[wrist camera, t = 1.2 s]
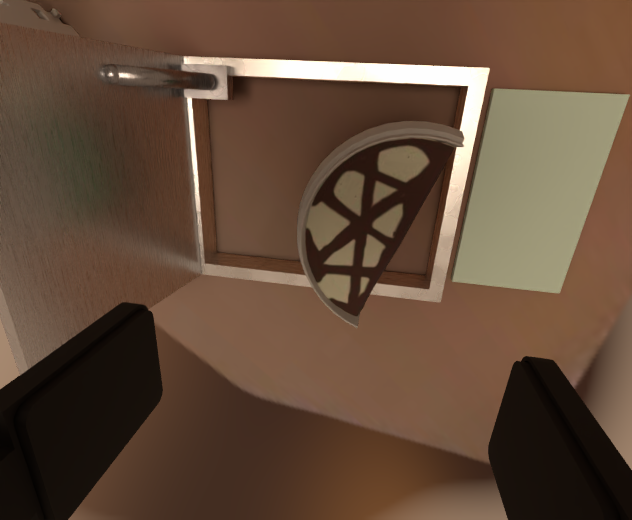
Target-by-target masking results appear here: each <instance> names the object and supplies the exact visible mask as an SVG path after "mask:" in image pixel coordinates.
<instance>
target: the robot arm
mask: <svg viewBox="0 0 632 520" xmlns="http://www.w3.org/2000/svg"><path fill="white" fill-rule="evenodd" d="M162 391H163V389H162V381H161V373H160V365H159V358H158V349H157V341H156V334H155V326H154V318H153V314H152V312H151V311H148V308H147V306H145V305H143V304H136V303H129V302H122V303H120V304H119V305H117V306H116V307H114V308H113V309H112V310H110V311H109V312H107V313H106V314H105V315H103V316H102V317H100V318H99V319H98V320H96V321H95V322H94V323H92V324H91V325H89V326H88V327H87V328H85V329H84V330H82V331H81V332H80V333H78V334H77V335H75V336H74V337H73V338H71V339H70V340H68V341H67V342H66V343H64V344H63V345H62V346H60V347H59V348H57V349H56V350H55V351H53V352H52V353H50V354H49V355H48V356H46V357H45V358H43V359H42V360H41V361H39V362H38V363H36V364H35V365H34V366H32V367H31V368H30V369H28V370H27V371H25V372H24V373H23V374H21V375H20V376H18V377H17V378H16V379H15V380H13V381H11V382H10V383H9V384H7V385H6V386H4V387H3V388H2V389H0V520H68V519H69V518H70V517H71V515H72V514H73V513H74V511H75V510H76V509H77V507H78V506H79V505H80V504H81V502H82V501H83V500H84V498H85V497H86V496H87V495H88V493H89V492H90V491H91V489H92V488H93V487H94V486H95V484H96V483H97V481H98V480H99V479H100V478H101V477H102V475H103V474H104V473H105V472H106V470H107V469H108V468H109V466H110V465H111V464H112V462H113V461H114V460H115V459H116V457H117V456H118V454H119V453H120V452H121V451H122V450H123V448H124V447H125V445H126V444H127V443H128V442H129V440H130V439H131V438H132V437H133V435H134V434H135V433H136V431H137V430H138V429H139V428H140V426H141V425H142V424H143V422H144V421H145V420H146V419H147V417H148V416H149V414H150V413H151V412H152V411H153V410H154V408H155V407H156V406H157V404H158V403H159V401H160V399H161V396H162ZM488 454H489V460H490V464H491V467H492V470H493V473H494V476H495V479H496V483H497V486H498V489H499V492H500V495H501V498H502V502H503V505H504V508H505V511H506V515H507V518H508V520H632V470H631V469H630V468H629V466H628V464H626V462H625V460H624V459H623V457H622V456H621V455H620V453H619V452H618V450H617V449H616V448H615V446H614V445H613V443H612V442H611V440H610V439H609V438H608V436H607V435H606V433H605V432H604V431H603V429H602V428H601V426H600V425H599V424H598V422H597V421H596V419H595V418H594V416H593V415H592V414H591V412H590V411H589V409H588V408H587V407H586V405H585V404H584V403H583V401H582V400H581V398H580V397H579V395H578V394H577V392H576V391H575V389H574V388H573V387H572V385H571V384H570V382H569V381H568V380H567V378H566V377H565V375H564V374H563V372H562V371H561V370H560V368H559V367H558V365H557V364H556V363H555V362H554V361H553V360H550V359H543V358H536V357H528V356H526V357H524V358H523V359H522V361H521V362H520V361H516V362H515V363H514V364H513V367H512V370H511V373H510V377H509V380H508V383H507V386H506V390H505V393H504V396H503V399H502V403H501V406H500V409H499V413H498V416H497V419H496V422H495V426H494V429H493V432H492V435H491V439H490V442H489V447H488Z"/></svg>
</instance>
